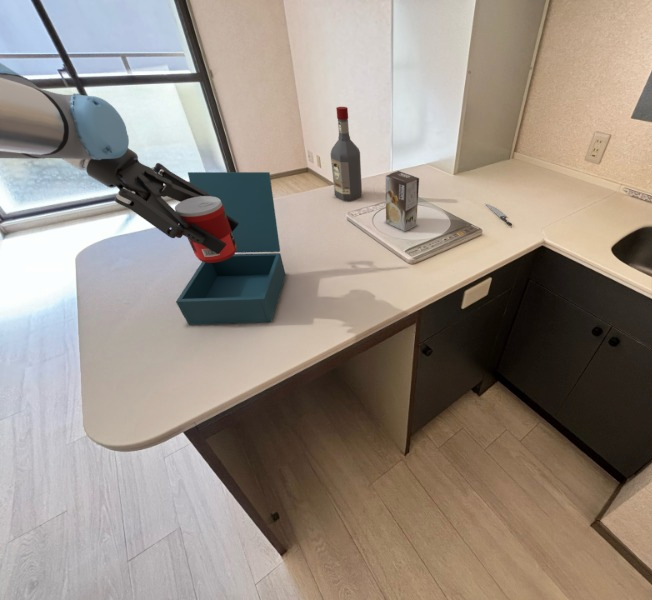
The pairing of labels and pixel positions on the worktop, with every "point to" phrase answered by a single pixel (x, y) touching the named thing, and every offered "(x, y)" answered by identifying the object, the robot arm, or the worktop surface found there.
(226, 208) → the cooler lid
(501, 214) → the chef's knife
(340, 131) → the liquor
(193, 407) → the worktop surface
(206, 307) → the cool box
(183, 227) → the robot arm
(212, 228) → the canned food
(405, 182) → the coffee box
